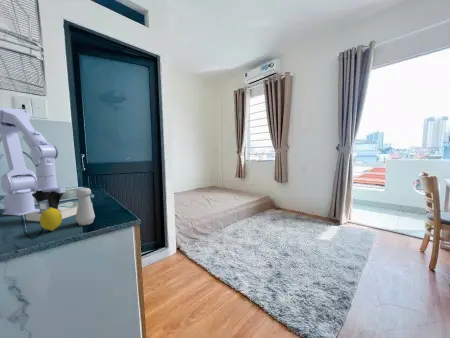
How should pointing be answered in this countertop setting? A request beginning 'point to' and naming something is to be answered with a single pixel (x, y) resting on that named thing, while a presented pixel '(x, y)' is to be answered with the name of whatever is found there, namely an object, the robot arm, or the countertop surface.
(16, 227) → the countertop surface
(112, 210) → the countertop surface
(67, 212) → the panel
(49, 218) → the lemon
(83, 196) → the salt shaker
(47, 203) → the plug
